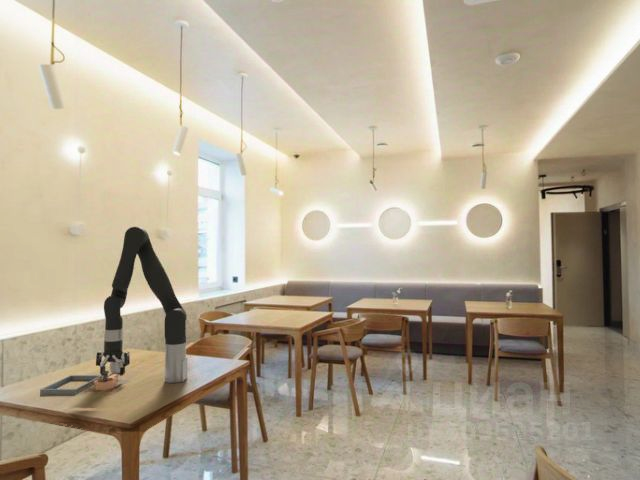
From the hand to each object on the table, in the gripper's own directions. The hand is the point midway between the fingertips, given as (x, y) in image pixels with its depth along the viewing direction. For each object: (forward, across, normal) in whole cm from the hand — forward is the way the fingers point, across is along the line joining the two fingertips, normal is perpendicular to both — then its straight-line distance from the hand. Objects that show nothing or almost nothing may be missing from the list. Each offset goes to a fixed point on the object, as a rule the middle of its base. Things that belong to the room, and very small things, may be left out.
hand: (112, 375), depth 184 cm
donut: (+4, +6, -15) cm, 17 cm away
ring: (+3, 0, +5) cm, 6 cm away
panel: (+4, 0, +5) cm, 6 cm away
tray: (+4, +14, +6) cm, 16 cm away
